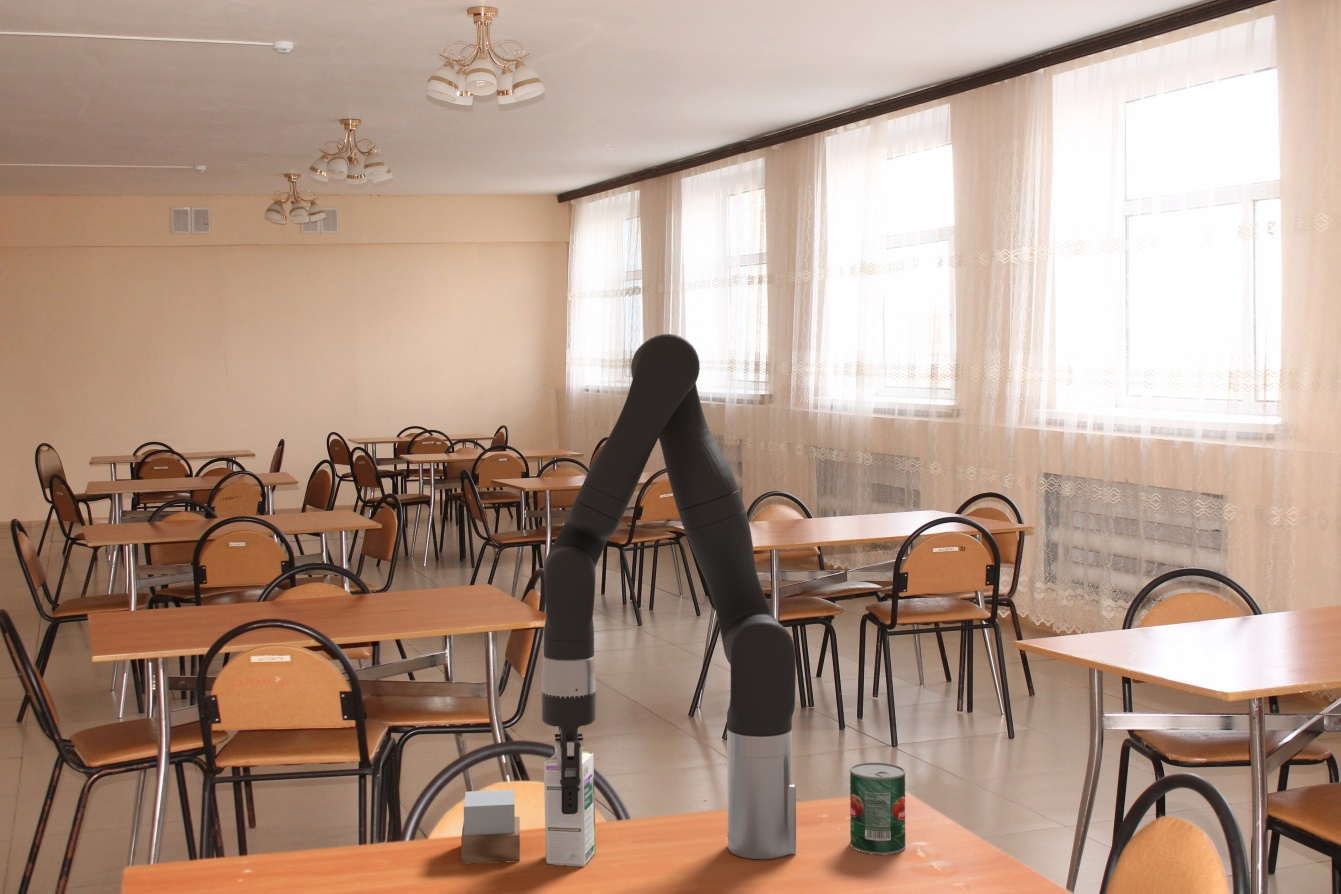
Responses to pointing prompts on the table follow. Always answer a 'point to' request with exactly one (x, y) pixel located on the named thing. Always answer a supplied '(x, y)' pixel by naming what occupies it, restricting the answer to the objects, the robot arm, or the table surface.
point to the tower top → (489, 812)
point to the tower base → (491, 846)
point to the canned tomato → (877, 808)
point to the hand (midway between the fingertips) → (568, 803)
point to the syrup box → (569, 816)
